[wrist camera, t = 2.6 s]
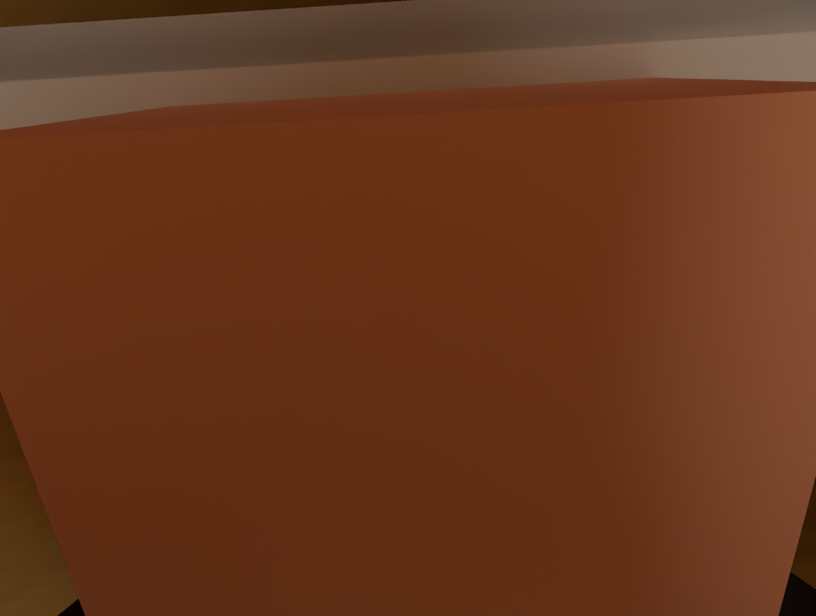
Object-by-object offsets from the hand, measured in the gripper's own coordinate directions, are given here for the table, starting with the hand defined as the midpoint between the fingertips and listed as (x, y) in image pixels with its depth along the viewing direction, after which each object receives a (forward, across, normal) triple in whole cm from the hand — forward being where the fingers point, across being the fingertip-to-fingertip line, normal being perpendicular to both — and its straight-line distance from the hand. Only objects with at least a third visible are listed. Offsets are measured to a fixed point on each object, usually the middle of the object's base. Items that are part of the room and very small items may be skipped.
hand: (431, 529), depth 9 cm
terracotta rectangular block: (0, 0, 0) cm, 0 cm away
